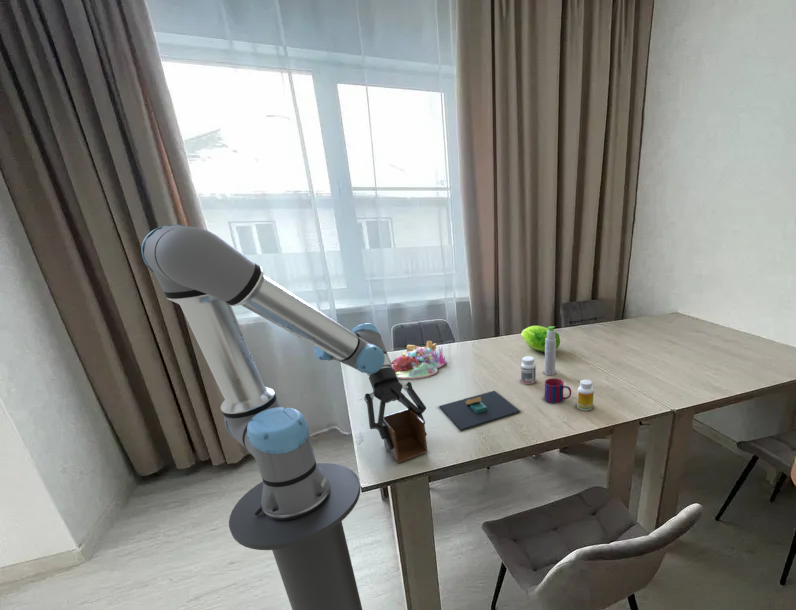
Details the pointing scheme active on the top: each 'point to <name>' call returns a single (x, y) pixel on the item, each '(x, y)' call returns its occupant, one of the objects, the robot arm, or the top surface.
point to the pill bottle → (528, 370)
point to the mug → (555, 390)
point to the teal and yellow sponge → (478, 407)
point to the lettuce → (537, 337)
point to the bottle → (550, 351)
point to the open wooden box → (405, 435)
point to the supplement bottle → (585, 395)
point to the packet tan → (473, 400)
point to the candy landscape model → (418, 362)
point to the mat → (469, 418)
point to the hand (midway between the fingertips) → (408, 442)
